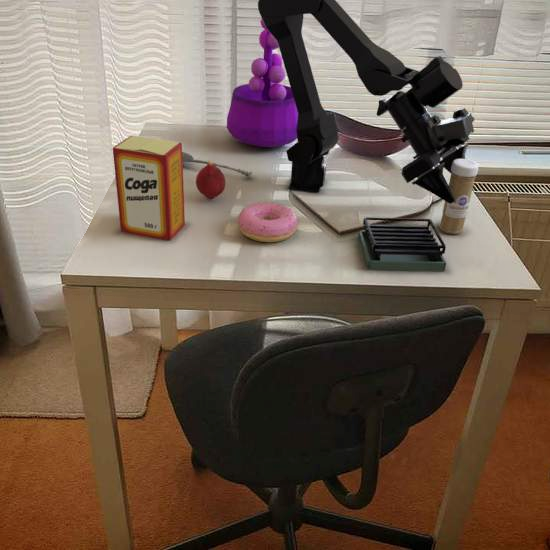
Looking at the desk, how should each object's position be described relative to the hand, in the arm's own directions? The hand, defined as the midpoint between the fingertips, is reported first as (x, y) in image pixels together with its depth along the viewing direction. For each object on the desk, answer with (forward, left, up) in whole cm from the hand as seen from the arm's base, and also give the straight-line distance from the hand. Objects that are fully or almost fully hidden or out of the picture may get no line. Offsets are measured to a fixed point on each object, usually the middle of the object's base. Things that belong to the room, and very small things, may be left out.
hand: (461, 193), depth 111 cm
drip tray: (-9, -12, -7) cm, 17 cm away
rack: (-9, -12, -7) cm, 17 cm away
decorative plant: (-45, +35, -8) cm, 57 cm away
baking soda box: (-53, -16, -8) cm, 56 cm away
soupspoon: (-53, +13, -8) cm, 55 cm away
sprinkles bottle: (0, 0, -8) cm, 8 cm away
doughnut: (-33, -11, -8) cm, 36 cm away
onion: (-47, -1, -8) cm, 48 cm away
